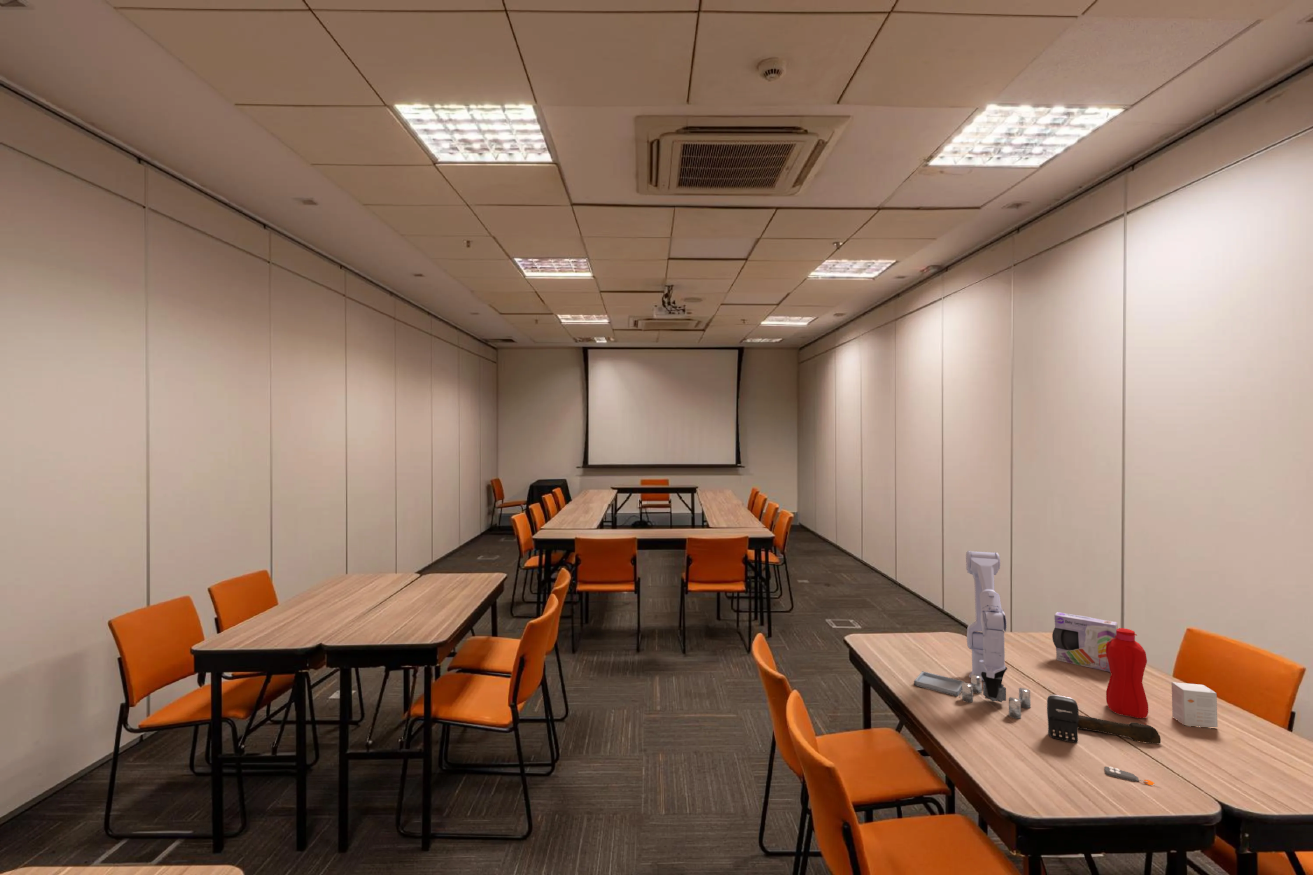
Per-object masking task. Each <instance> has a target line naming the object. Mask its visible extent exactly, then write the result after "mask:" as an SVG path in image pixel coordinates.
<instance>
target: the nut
mask: <svg viewBox="0 0 1313 875" xmlns="http://www.w3.org/2000/svg"><path fill="white" fill-rule="evenodd" d="M982 695H983V696H984V698H985V699H987V700H990V701H992V702H999V703H1003V701H1004V702H1005V701H1007V688H1006V686H1005V685H1004V684H1003V683H1002V684H1000V685H999V689H998V695H997V698H993V697H989V696H988V692H987V688H986V684H985V682H984V681H982Z"/></svg>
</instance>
